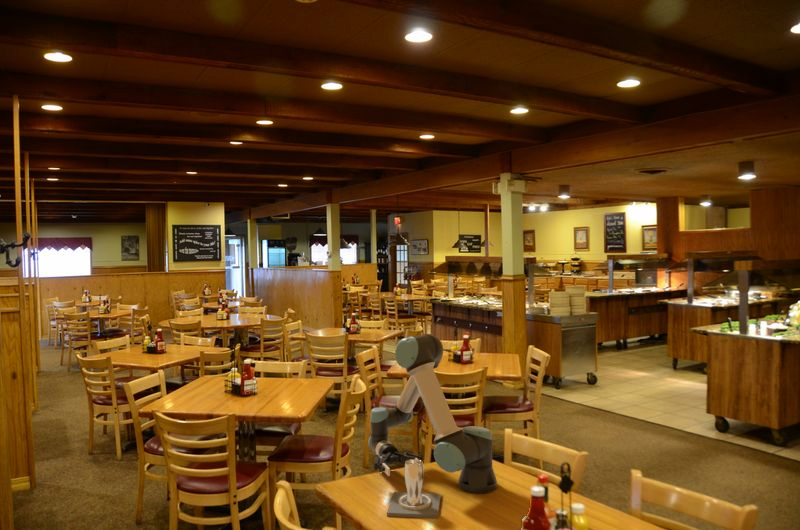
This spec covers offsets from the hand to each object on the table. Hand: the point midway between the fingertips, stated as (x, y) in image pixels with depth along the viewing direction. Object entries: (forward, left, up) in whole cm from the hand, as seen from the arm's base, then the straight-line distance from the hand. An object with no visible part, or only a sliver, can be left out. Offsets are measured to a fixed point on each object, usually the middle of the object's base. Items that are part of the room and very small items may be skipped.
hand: (405, 469), depth 223 cm
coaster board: (-4, +7, -11) cm, 14 cm away
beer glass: (-4, +7, -9) cm, 13 cm away
